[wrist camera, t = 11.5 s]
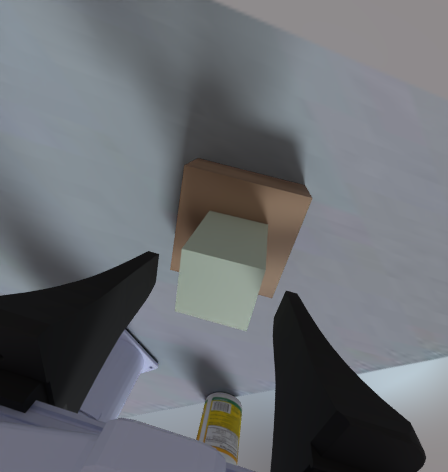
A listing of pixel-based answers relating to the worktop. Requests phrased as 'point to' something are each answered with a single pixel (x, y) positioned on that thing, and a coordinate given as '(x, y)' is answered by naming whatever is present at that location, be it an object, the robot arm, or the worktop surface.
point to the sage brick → (222, 270)
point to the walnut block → (242, 209)
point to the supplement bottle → (221, 425)
